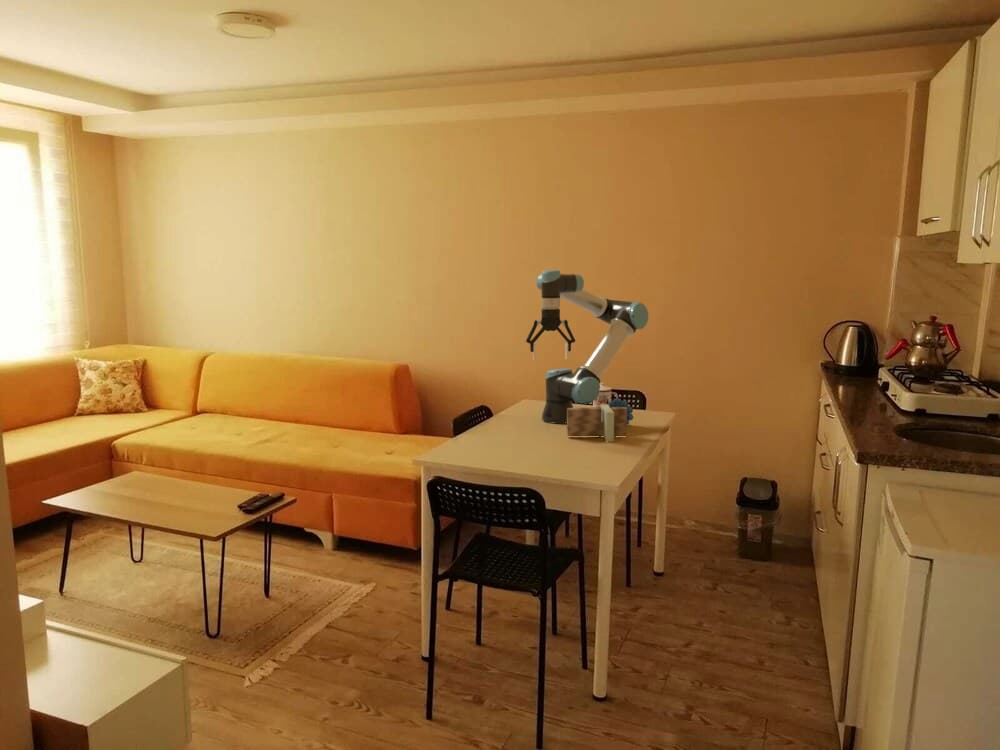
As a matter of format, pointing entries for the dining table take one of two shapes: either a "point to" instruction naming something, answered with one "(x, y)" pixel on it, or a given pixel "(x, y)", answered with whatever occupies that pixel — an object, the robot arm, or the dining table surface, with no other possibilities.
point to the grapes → (623, 403)
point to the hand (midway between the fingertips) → (550, 359)
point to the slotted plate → (608, 422)
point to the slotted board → (594, 421)
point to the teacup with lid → (603, 396)
